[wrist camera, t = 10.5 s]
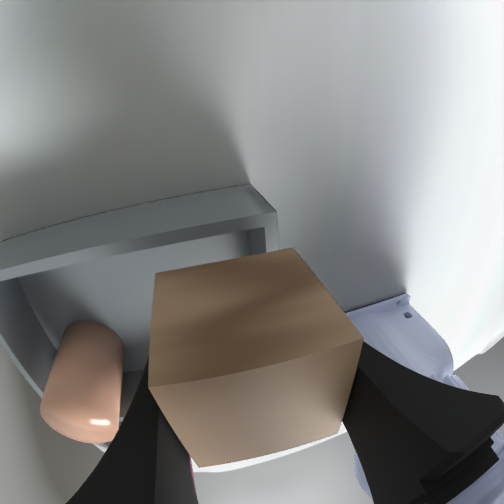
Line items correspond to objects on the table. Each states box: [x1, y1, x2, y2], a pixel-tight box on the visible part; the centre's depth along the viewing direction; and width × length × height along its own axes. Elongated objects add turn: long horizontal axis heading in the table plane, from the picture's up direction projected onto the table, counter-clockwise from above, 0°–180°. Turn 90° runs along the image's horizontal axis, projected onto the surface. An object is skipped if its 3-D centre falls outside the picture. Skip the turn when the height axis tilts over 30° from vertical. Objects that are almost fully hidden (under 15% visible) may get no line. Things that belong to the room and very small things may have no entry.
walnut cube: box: [148, 248, 364, 467], centre depth 9 cm, size 5×5×5 cm
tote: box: [0, 184, 279, 422], centre depth 17 cm, size 17×13×5 cm
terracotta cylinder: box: [40, 320, 125, 443], centre depth 16 cm, size 5×5×7 cm
